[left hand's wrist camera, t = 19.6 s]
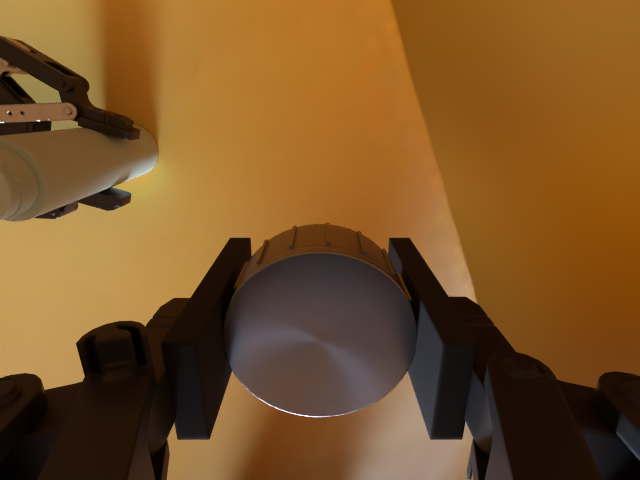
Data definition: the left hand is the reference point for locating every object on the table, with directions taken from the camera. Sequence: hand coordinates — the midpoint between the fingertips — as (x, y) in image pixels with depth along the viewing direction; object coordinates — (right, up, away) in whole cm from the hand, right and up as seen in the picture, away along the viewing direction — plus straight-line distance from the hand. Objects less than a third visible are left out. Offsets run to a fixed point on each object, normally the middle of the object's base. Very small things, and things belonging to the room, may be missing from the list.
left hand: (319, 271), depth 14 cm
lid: (0, -1, -4) cm, 4 cm away
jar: (-18, +10, +21) cm, 29 cm away
